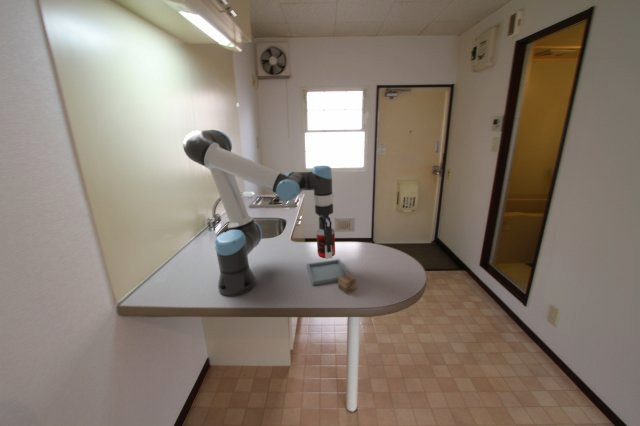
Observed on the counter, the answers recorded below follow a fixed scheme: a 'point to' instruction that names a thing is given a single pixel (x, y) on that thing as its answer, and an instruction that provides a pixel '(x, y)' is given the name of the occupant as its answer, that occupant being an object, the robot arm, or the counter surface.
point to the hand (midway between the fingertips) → (326, 253)
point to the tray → (325, 271)
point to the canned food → (322, 241)
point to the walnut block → (347, 283)
